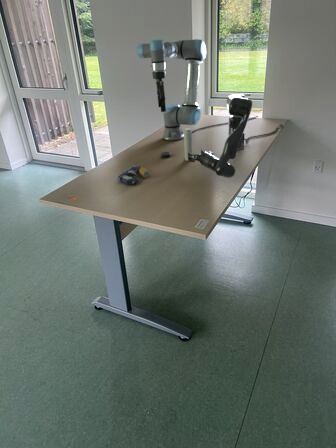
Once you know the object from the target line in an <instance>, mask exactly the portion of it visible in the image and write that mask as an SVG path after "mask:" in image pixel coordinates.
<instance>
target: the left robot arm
mask: <svg viewBox="0 0 336 448" xmlns="http://www.w3.org/2000/svg"><path fill="white" fill-rule="evenodd" d="M136 55H137V57H138V58H140V59H151V64H150V67H151V70H152V79H153V80H155V84H156V95H157V104H158V108H160V112H161V113H163V122H164V130H163V135H162V139H163V140H164V141H167V142H176V141H180V140H182V139H184V131H183V129H182V125H183V126H184V125H185V126H196V125H197V124H198V123H199V122H200V120H201V116H202V110H201V108H200V107H199V104H198V103H197V102H198V90H199V89H198V88H199V78H200V66H201V64H203V60H204V59H206V56H207V46H206V43H205V41H204V40H203V39H199V38H197V39H183V40H176V41H164V40H163V39H152V40H150V42H149V43H139V44H138V45H137V46H136ZM165 58H169V59H176V60H184V62H185V64H186V72H185V87H184V100H183V102H182V103H181V106H180V104H170V105H166V93H165V86H164V84H165V83H164V81H163V79H165V78H166V77H167V72H166V60H165ZM257 118H259V115H256V116H253V117H249V118H248V121H249V120H253V119H257ZM222 125H229V121H228V122H223V123H218V124H211V125H207V126H203V127H199V128H196V129H194V130H191V131H192V133H195V132H196V131H199V130H203V129H206V128H210V127H216V126H222Z"/></svg>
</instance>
